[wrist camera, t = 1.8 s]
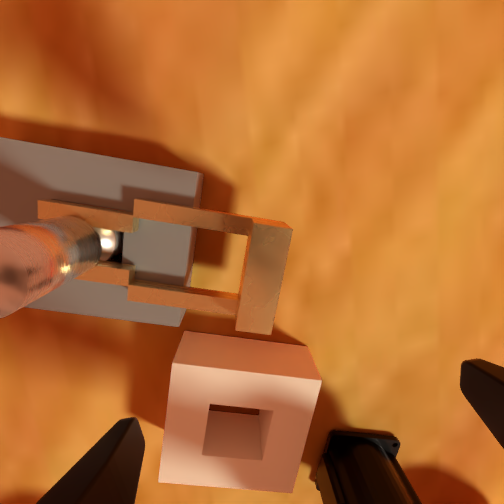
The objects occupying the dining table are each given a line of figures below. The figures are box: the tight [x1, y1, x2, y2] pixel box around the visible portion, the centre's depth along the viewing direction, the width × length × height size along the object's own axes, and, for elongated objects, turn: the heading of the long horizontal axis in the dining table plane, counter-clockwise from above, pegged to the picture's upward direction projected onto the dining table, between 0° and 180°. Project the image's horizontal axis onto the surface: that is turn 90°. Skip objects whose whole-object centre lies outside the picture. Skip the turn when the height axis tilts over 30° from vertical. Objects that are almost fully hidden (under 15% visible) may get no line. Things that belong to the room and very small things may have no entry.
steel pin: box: [0, 216, 124, 318], centre depth 14 cm, size 3×3×10 cm
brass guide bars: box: [38, 198, 293, 335], centre depth 15 cm, size 14×6×3 cm, turn 80°
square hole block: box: [158, 331, 322, 493], centre depth 21 cm, size 10×10×4 cm
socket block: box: [0, 137, 204, 327], centre depth 18 cm, size 12×10×3 cm
